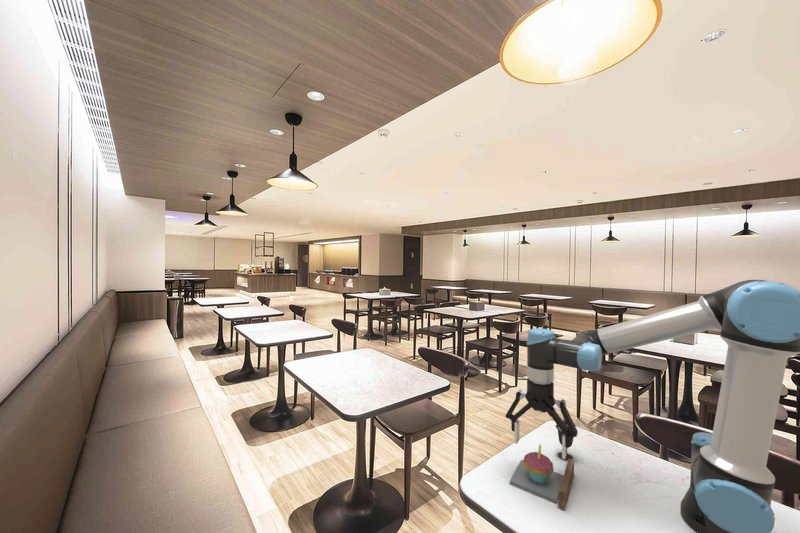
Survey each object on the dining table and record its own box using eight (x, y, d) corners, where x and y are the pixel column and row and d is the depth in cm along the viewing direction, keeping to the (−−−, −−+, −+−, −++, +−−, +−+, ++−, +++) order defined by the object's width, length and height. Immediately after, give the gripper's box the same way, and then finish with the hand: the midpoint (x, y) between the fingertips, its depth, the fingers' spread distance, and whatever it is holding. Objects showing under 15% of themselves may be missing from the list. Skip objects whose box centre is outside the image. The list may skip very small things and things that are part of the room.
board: (564, 478, 101) (564, 475, 101) (556, 503, 90) (556, 500, 90) (521, 462, 108) (521, 459, 108) (509, 484, 98) (509, 480, 98)
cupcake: (556, 490, 94) (557, 449, 94) (525, 485, 96) (526, 445, 95) (548, 471, 102) (550, 434, 102) (520, 467, 104) (521, 430, 104)
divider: (573, 475, 102) (574, 459, 102) (564, 511, 87) (565, 493, 87) (568, 473, 103) (568, 457, 103) (558, 508, 88) (558, 490, 88)
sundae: (556, 460, 109) (557, 417, 109) (553, 449, 116) (554, 408, 115) (578, 464, 107) (579, 420, 107) (573, 453, 114) (574, 411, 113)
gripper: (588, 385, 94) (587, 457, 94) (503, 368, 109) (502, 431, 109) (585, 393, 88) (584, 470, 88) (495, 375, 102) (495, 441, 103)
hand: (539, 449), depth 99 cm, fingers open, 13 cm apart
